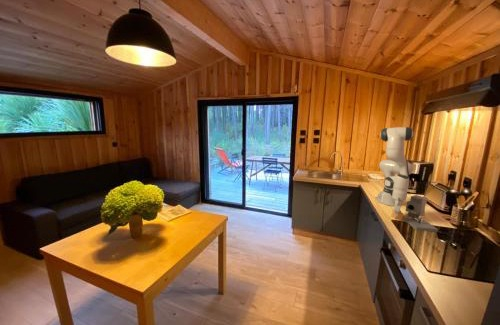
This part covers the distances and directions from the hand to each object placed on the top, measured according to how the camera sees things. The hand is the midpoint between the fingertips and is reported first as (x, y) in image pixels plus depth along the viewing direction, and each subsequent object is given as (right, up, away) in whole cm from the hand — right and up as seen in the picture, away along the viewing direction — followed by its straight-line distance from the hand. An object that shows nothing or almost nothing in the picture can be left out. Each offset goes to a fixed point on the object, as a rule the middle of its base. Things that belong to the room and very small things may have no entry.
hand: (396, 213), depth 164 cm
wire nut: (+1, -3, +1) cm, 4 cm away
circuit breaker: (+18, -3, +6) cm, 19 cm away
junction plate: (+9, -6, -10) cm, 15 cm away
